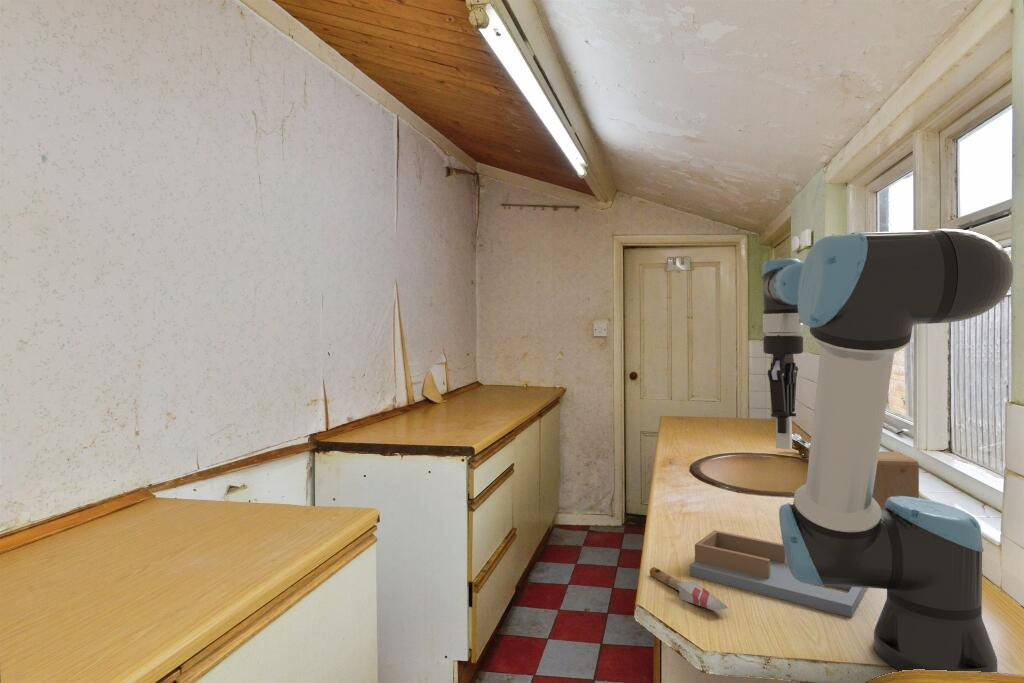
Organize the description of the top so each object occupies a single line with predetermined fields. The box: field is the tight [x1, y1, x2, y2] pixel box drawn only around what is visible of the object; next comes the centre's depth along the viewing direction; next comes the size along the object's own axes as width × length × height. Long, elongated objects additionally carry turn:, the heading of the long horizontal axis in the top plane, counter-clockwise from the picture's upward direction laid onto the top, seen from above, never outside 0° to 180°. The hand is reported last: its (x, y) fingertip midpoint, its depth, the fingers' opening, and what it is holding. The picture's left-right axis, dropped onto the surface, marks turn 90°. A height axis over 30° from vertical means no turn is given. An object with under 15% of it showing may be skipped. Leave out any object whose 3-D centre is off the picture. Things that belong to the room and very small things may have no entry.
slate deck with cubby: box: [689, 529, 868, 618], centre depth 120 cm, size 20×29×6 cm
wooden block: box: [872, 450, 920, 508], centre depth 137 cm, size 10×10×20 cm
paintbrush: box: [649, 566, 729, 612], centre depth 114 cm, size 4×3×20 cm
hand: (784, 448), depth 126 cm, fingers closed
